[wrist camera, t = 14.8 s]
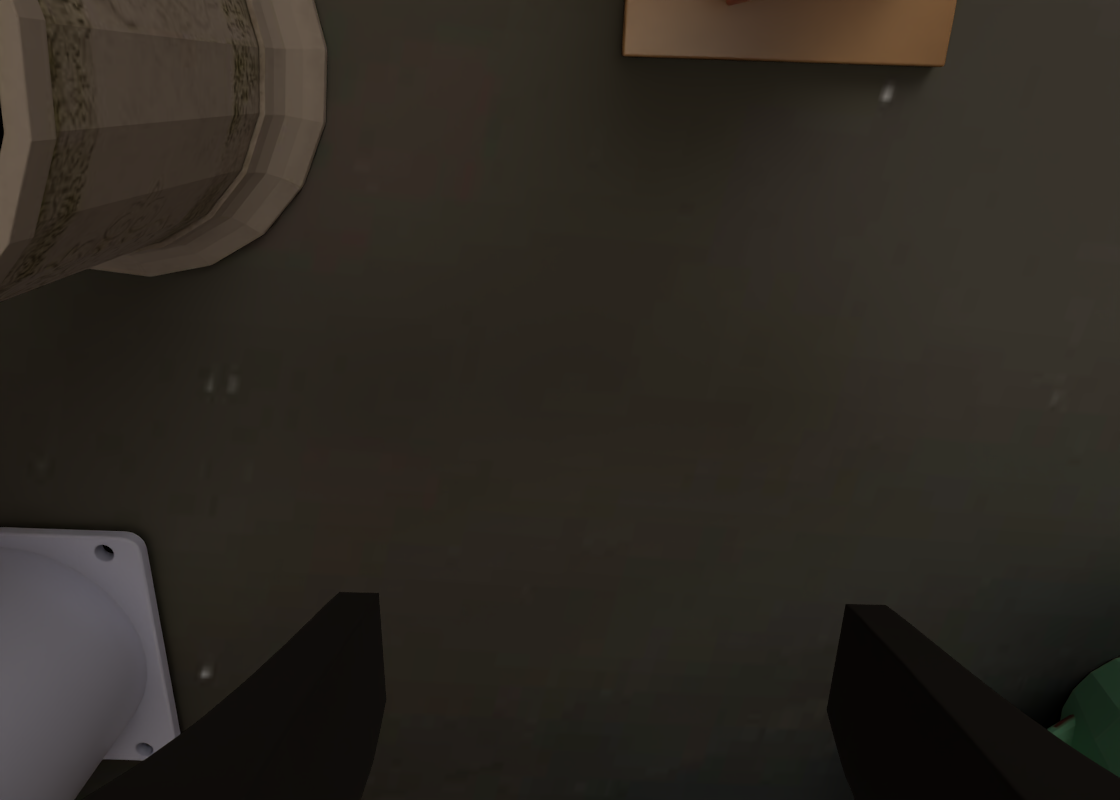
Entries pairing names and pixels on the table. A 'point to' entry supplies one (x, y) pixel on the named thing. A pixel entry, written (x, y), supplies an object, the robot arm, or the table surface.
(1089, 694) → the mug
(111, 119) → the mug
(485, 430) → the table surface
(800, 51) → the trivet
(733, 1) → the block
